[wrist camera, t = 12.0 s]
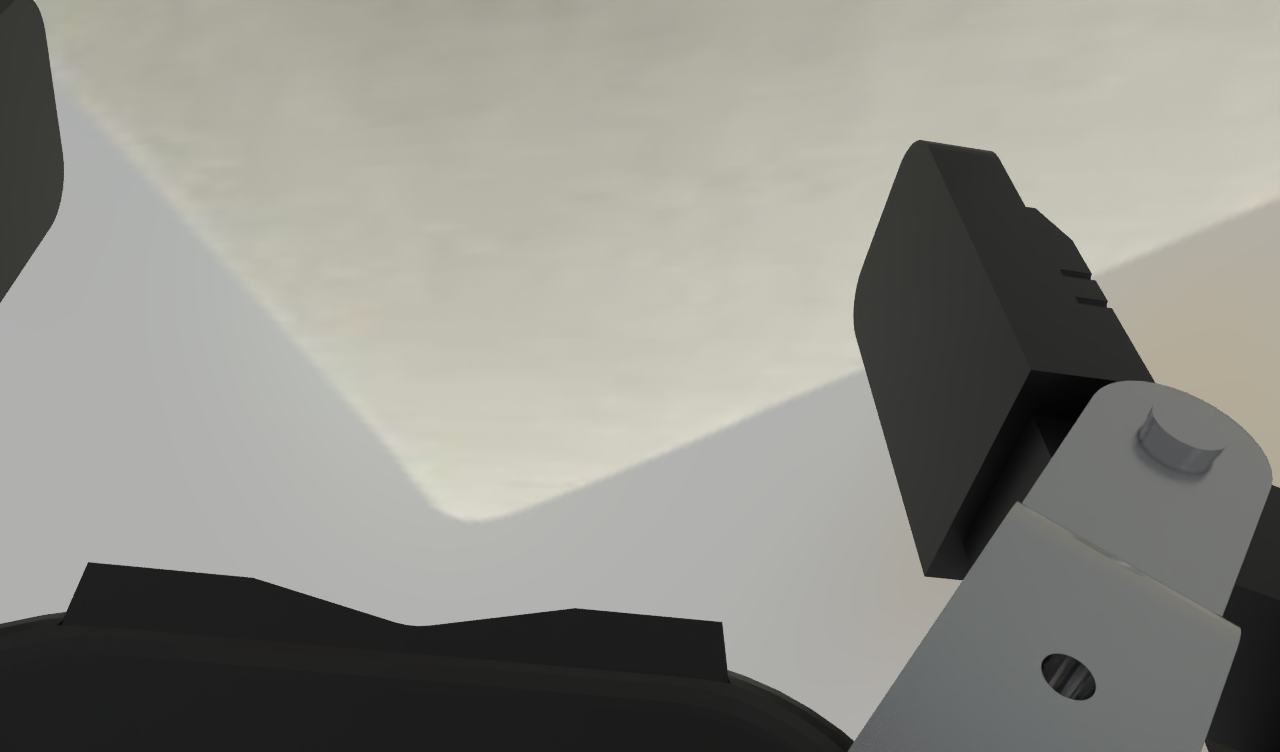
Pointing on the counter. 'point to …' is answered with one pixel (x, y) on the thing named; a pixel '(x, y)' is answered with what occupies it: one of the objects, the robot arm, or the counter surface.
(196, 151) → the counter surface
